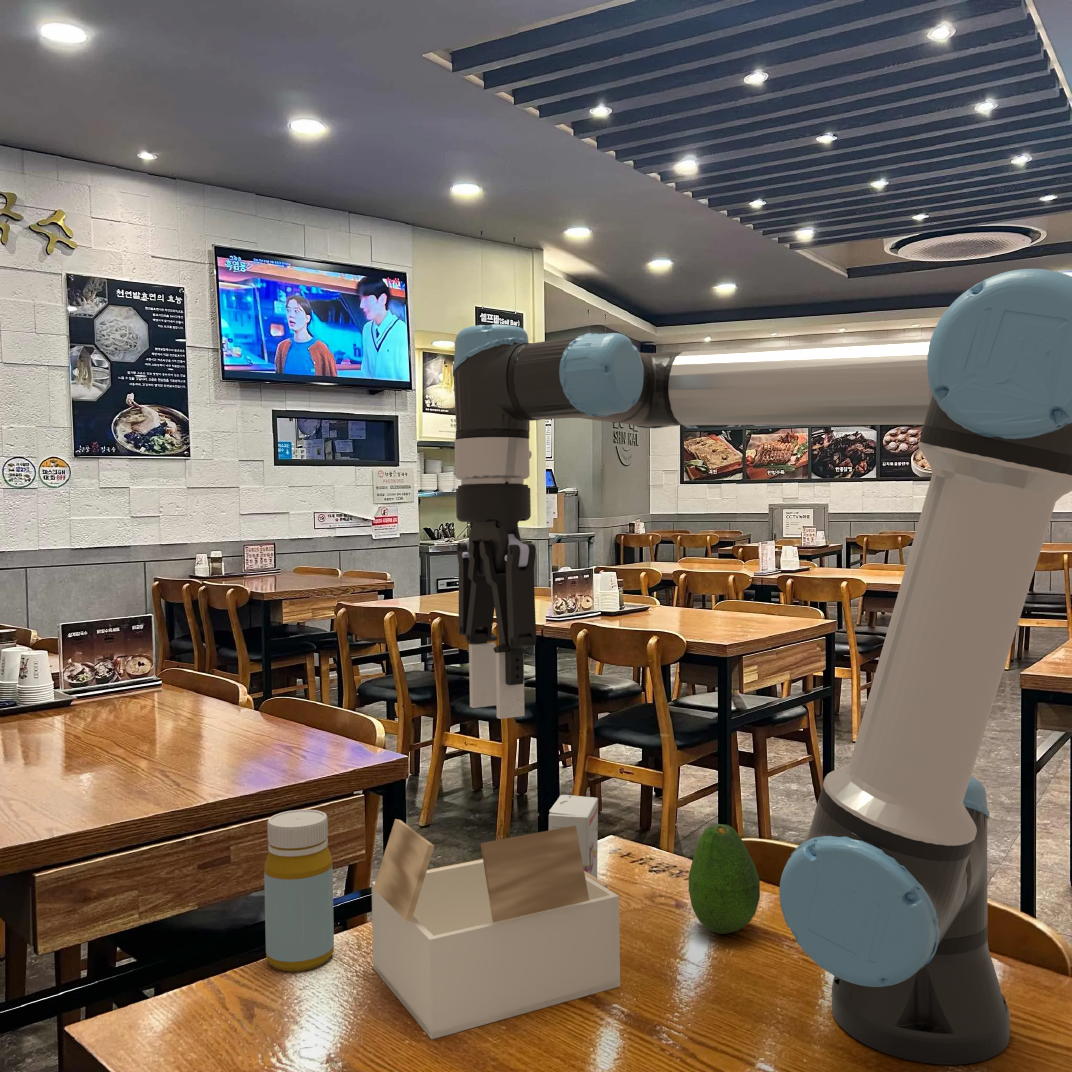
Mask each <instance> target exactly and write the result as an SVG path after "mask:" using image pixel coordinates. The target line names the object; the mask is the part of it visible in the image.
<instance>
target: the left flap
mask: <svg viewBox="0 0 1072 1072" xmlns="http://www.w3.org/2000/svg"><path fill="white" fill-rule="evenodd" d="M434 848H435V845H434V844H432V842H430V841H429V840H427V839H426V838H425V837H423V836H422V835H421V834H419V832H417V831H416V830H414V829H413V828H412V827H410V826H409V825H407V824H406V823H405V822H404V821H403V820H401V819H397V818H395V819H394V822H393V825H392V827H391V832H390V834H389V837H388V840H387V845H386V847H385V850H384V852H383V853H384V854H383V857H382V860H381V862H380V867H379V870H378V873H377V876H376V879H375V881H376V882H375V885H374V889H375V890H376V891H377V892H378V893H379V894H380V895H381V896H382V897H383V898H384V899H385V900H386V901H387V902H388V903H389V904H390V905H391V906H392V907H393V908H394V909H395V910H396V911H397V912H398V913H399V914H400V915H401V916H402V917H403V918H404V919H405V920H406V921H412V917H413V914H414V911H415V908H416V904H417V901H418V898H419V894H420V891H421V888H422V885H423V881H424V878H425V875H426V872H427V870H428V868H429V865H430V862H431V858H432V855H433V852H434Z"/></svg>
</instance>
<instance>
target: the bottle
mask: <svg viewBox="0 0 1072 1072" xmlns="http://www.w3.org/2000/svg"><path fill="white" fill-rule="evenodd" d="M328 822H329V821H328V815H327V813H325V812H324V811H320V810H318V809H295V810H294V809H293V810H287V811H282V812H279V813H276V814H274V815H272V816H271V817H268V820H267V823H266V824H267V841H268V843H267V845H268V846H267V848H268V852H267V857H266V860H265V861H264V867H263V868H264V871H263V878H264V883H263V884H264V914H265V915H264V922H265V925H264V927H265V933H264V934H265V954H266V955H265V956H266V960H267V962H268V963H269V964H270V965H271V966H272V967H273V968H275V969H276V970H278V971H283V972H291V973H294V972H295V973H296V972H304V971H308V970H313V969H315V968H318V967H320V966H322V965H323V964H325V963H326V962H327V961H328V960H329V959H330V957H331V956H332V955H333V953H334V951H335V950H334V949H335V945H334V944H335V934H334V933H335V930H334V928H335V927H334V925H335V924H334V923H335V922H334V920H335V919H334V891H333V890H334V880H333V879H334V878H333V877H334V876H333V857H332V854H331V851H330V848H329V847H328V845H329V842H328V841H329V839H328V835H329V832H328V831H329V828H328V827H329V825H328Z"/></svg>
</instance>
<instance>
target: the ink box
mask: <svg viewBox="0 0 1072 1072" xmlns="http://www.w3.org/2000/svg"><path fill="white" fill-rule="evenodd" d="M551 806H552V807H551V808H550V809H549V810H548V812H549V814H548V831H549V830H554V829H560V828H565V827H570V826H576V829H577V835H578V840H579V846H580V851H581V857H582V862H583V868H584V871H585V872H587V873H589V874H590V875H592V876H594V877H595V878H597V879H598V846H599V845H598V843H599V842H598V833H599V831H598V830H599V828H598V827H599V826H598V824H599V823H598V822H599V821H598V819H599V811H598V810H599V798H598V797H595V796H594V797H593V796H591V797H590V796H582V795H581V796H580V795H570V794H560V795H559V797H558V798H557V800H556V801H555V802H554V804H553V805H551Z"/></svg>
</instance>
